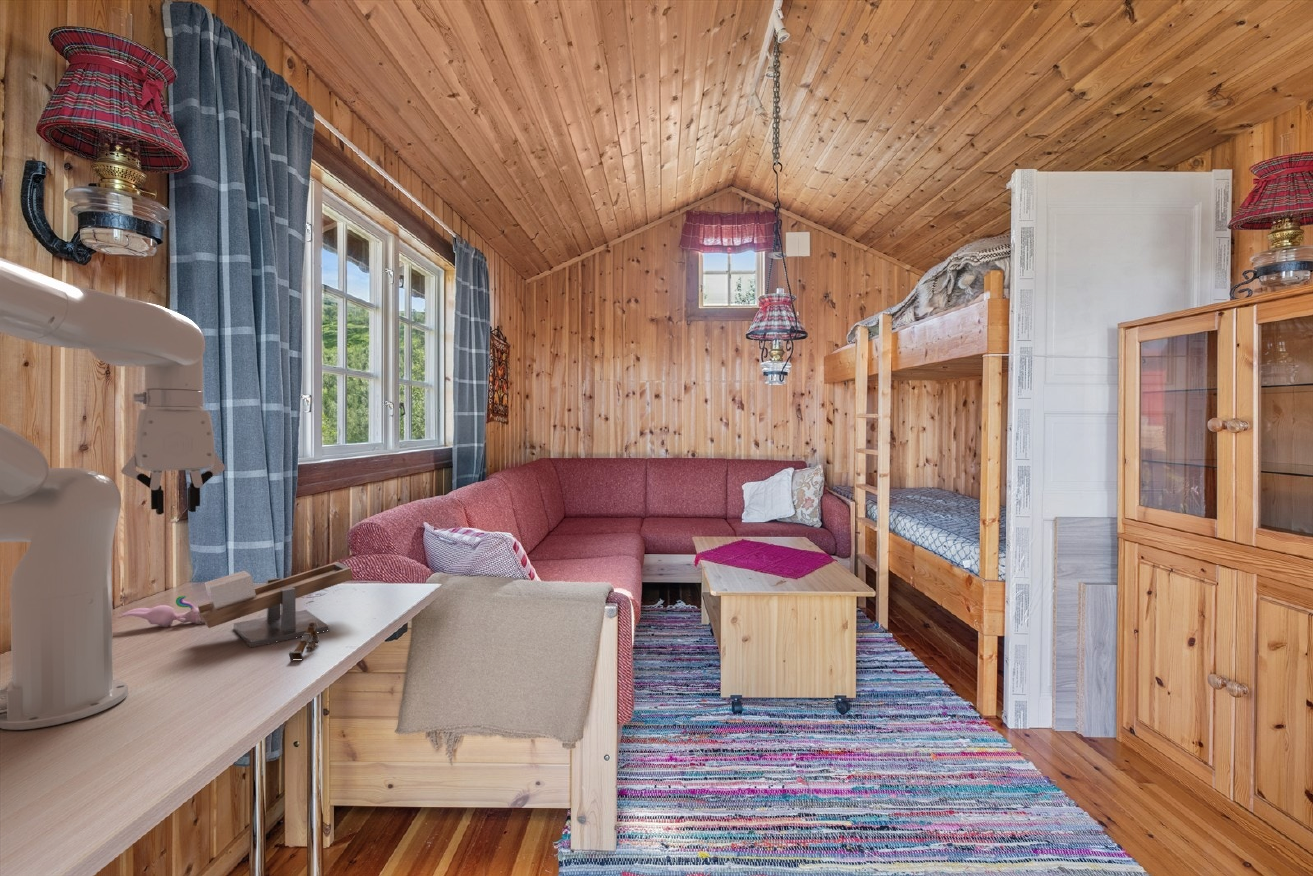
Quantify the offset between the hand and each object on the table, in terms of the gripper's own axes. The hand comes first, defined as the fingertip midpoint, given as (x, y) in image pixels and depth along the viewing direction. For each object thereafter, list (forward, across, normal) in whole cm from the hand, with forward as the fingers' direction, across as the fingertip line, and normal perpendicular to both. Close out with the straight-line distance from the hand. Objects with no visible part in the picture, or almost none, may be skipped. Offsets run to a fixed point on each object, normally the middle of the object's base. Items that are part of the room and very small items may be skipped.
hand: (176, 511), depth 101 cm
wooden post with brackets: (+24, +15, -16) cm, 32 cm away
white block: (+17, +8, 0) cm, 19 cm away
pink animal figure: (+24, +1, +18) cm, 30 cm away
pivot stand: (+23, +15, 0) cm, 28 cm away
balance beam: (+17, +15, 0) cm, 23 cm away
